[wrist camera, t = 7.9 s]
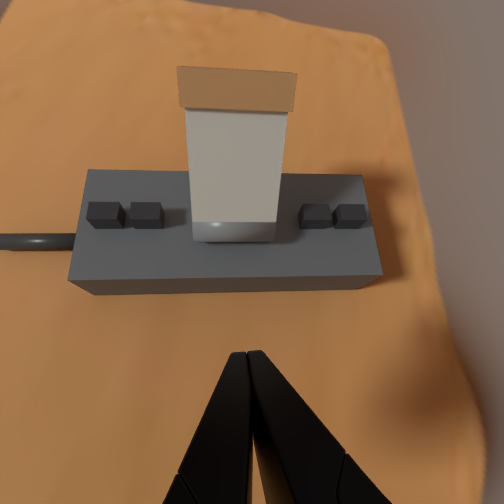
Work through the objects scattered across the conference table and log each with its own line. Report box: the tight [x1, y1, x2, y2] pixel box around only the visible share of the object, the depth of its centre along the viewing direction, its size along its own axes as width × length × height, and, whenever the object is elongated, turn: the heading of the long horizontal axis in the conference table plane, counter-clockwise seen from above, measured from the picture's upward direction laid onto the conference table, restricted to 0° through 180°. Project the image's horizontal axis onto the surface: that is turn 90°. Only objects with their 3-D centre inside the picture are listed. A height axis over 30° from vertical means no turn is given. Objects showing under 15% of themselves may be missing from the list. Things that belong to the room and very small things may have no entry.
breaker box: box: [0, 169, 383, 295], centre depth 21 cm, size 8×28×5 cm, turn 93°
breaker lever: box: [177, 66, 297, 242], centre depth 17 cm, size 2×5×9 cm
